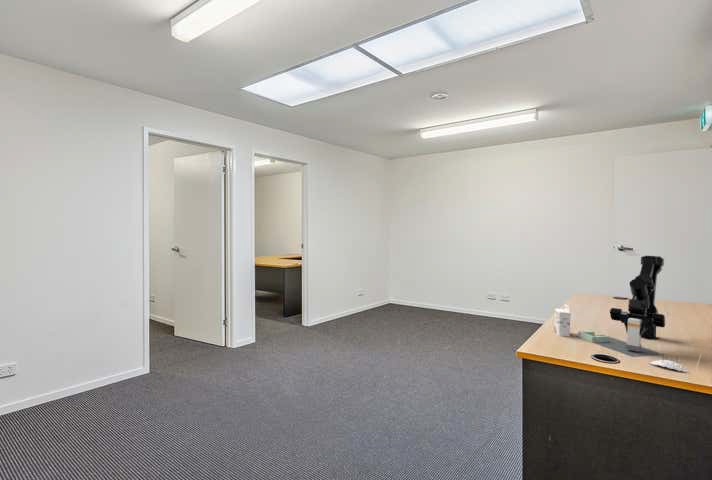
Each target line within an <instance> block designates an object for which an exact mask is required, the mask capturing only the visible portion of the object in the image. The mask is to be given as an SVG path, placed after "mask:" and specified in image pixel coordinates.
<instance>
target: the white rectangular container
mask: <svg viewBox="0 0 712 480" xmlns="http://www.w3.org/2000/svg"><path fill="white" fill-rule="evenodd" d="M640 329H641V319H635V318H629V319H628V331H627V332H626V335H627V338H626V342H627V344H626V349H627V350H633V351H638V352H640V350H641V347H642V345H643V344H641V343H642V337H641V336H640V335H639V333H640Z"/></svg>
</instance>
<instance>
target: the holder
mask: <svg viewBox="0 0 712 480" xmlns="http://www.w3.org/2000/svg"><path fill="white" fill-rule="evenodd" d="M597 335H598V334H597ZM597 335H596V334H595V331H593V330H590V331H578V337H579V338H578V337H577V338H578V339H581V338H582V339H581V340H583V339H585V340H584V341H586V340H588V341H587V342H589V341H590V342H589V343H592V342H593V343H592V344H595V343H597V342H609V337H610V335H605V336H597Z"/></svg>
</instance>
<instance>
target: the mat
mask: <svg viewBox="0 0 712 480" xmlns="http://www.w3.org/2000/svg"><path fill="white" fill-rule="evenodd" d="M597 336H606V335H605V334H599V335H598V334H597ZM574 337H575V338H578V339H580V340H583V341H587V342H589V343H592V344H595V345H598V346H601V347H603V348H607V349H608V350H612V351H615V352H618V353H621V354H624V355H626V356H629V357H631V358H639V357H651V356H652V357H653V356H662V355H663V356H666V353H661V352H658V351H656V350H652V349H650V348H649V349H648V348H645V347H641V350H640V352H638V351H633V350H627V349H626V344H627V341H624V340H620V339H617V338H615V337H611V336H609V342H597V343H593V342H590V341H588V340H585V339H582V338H579V337H578V336H577V335H575V336H574Z"/></svg>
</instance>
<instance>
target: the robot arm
mask: <svg viewBox="0 0 712 480" xmlns="http://www.w3.org/2000/svg"><path fill="white" fill-rule="evenodd" d="M640 265H641V269H640V273H639V274H638V275H637V276H635V277H634V279H632V280H630V281H629V287H630V293H631V295H632V297H631V298H630V299H629V298H628V304H627V311H625V310H622V308H618V307H617V308H616V307H611V308H610V310H609V315H610V316H609V317H610V319H611V320H613V321H618V322H621V323H622V324H623V325H624V328H625V331H626V333H627V331H628V319H629V318H635V319H641V329H640V333H639V335H640V336H641V338H643V339H645V340H655V339H656V340H657V339H660V337H659V336H657V327H658V328H665V327H666V316H665V315H664V314H662V313H659V311H658V309H657V307H656V305H655V304H656V303H655V301H656V293H657V291H656V289H657V279H658V275H659V274H660V273H661V271H662V269H663V267H664V265H665V259H664V257H662V256H659V255H657V256H656V255H643V256H641V257H640Z"/></svg>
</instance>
